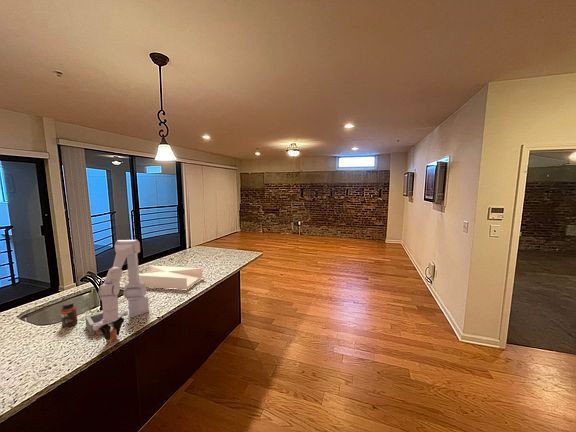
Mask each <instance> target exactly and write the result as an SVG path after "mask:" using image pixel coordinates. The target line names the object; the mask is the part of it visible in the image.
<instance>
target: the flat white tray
mask: <svg viewBox="0 0 576 432" xmlns="http://www.w3.org/2000/svg"><path fill="white" fill-rule="evenodd" d="M201 278H203V268H202V267H200V268H199V267H183V266H182V267H181V266H167V265H166V266H162V265H149V272H145V273H139V280H140V281H142V282H144V283H145V286H146V287H153V288H152V289H154V288H178V289H188V288H189V287H191V286H192V285H193V284H195V283H196V282H197V281H199V280H200V279H201Z"/></svg>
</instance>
